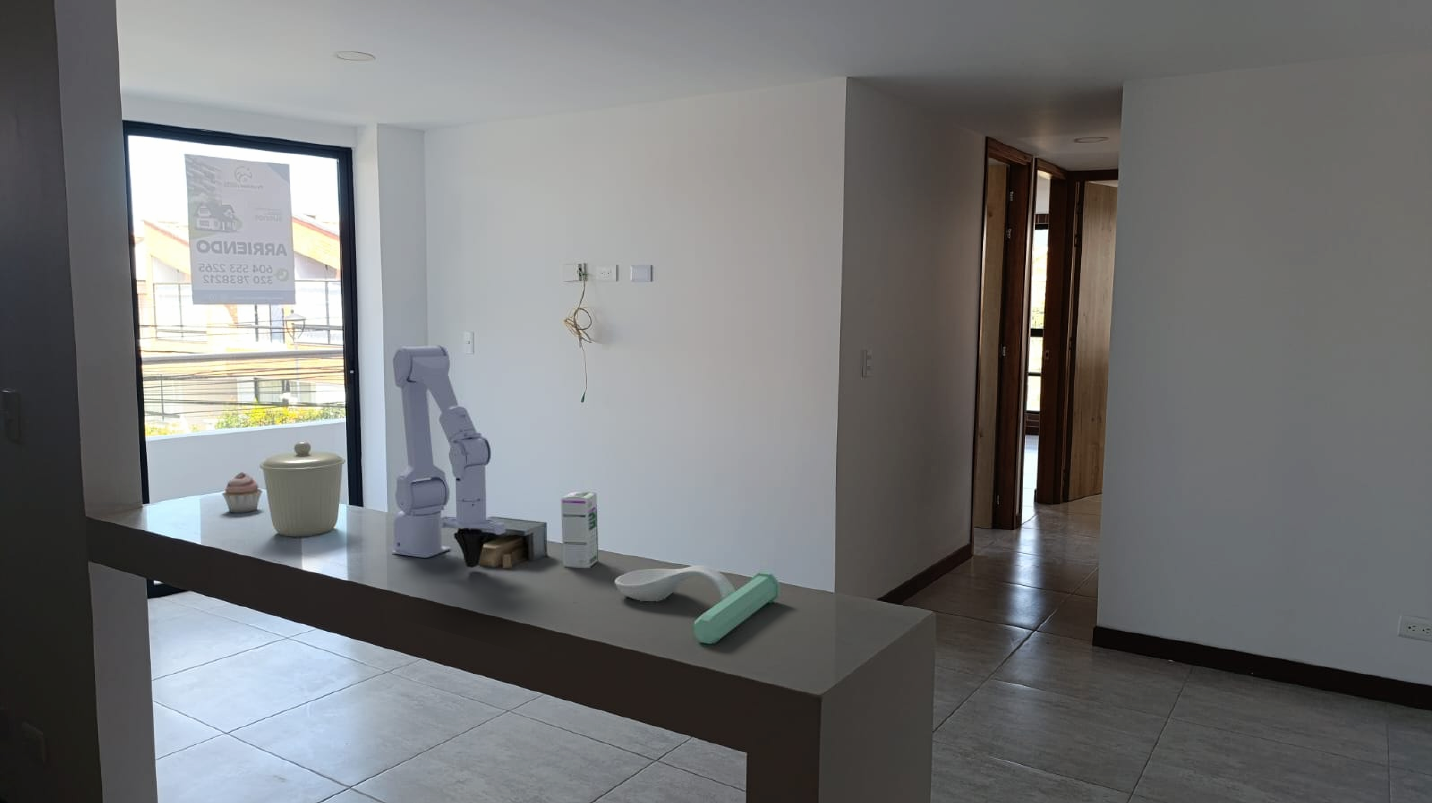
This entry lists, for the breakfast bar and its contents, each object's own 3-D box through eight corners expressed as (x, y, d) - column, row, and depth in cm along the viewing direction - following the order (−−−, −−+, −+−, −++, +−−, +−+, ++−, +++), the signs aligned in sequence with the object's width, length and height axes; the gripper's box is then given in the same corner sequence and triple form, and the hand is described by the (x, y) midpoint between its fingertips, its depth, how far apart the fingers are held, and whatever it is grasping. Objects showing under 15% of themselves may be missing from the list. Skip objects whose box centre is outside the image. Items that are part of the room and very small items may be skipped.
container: (712, 610, 147) (774, 567, 169) (681, 619, 149) (746, 575, 172) (725, 646, 146) (785, 598, 169) (694, 654, 149) (757, 606, 171)
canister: (356, 534, 216) (353, 443, 214) (270, 545, 206) (265, 450, 204) (337, 519, 231) (334, 434, 229) (256, 529, 221) (252, 440, 219)
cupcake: (221, 516, 234) (218, 476, 233) (224, 508, 243) (222, 470, 242) (262, 512, 238) (260, 473, 237) (264, 505, 247) (262, 467, 246)
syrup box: (589, 568, 190) (588, 497, 188) (561, 566, 191) (560, 496, 190) (598, 561, 195) (598, 492, 194) (571, 559, 197) (570, 490, 195)
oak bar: (478, 565, 193) (477, 546, 192) (507, 553, 202) (507, 535, 201) (494, 567, 191) (493, 548, 191) (523, 555, 200) (522, 537, 200)
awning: (456, 561, 194) (455, 528, 194) (492, 547, 205) (492, 516, 205) (513, 569, 189) (512, 535, 188) (547, 554, 200) (546, 522, 199)
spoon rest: (602, 601, 170) (602, 562, 169) (638, 584, 180) (638, 547, 180) (717, 623, 159) (717, 581, 158) (749, 603, 169) (749, 564, 168)
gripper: (427, 499, 185) (429, 567, 187) (489, 505, 180) (490, 575, 181) (451, 492, 192) (452, 558, 193) (510, 498, 186) (512, 566, 188)
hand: (472, 566), depth 188 cm, fingers closed
